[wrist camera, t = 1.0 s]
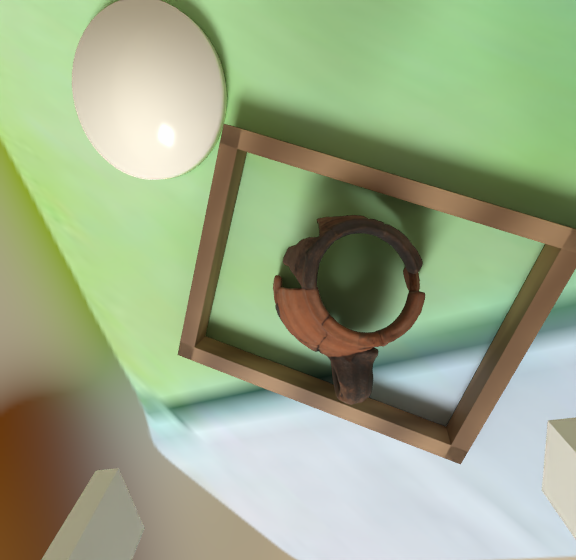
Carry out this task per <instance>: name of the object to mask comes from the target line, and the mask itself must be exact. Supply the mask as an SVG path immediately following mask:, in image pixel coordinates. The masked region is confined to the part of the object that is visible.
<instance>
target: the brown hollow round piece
mask: <svg viewBox="0 0 576 560" xmlns="http://www.w3.org/2000/svg"><path fill="white" fill-rule="evenodd" d="M317 223H318V224H319V233H320V234H319V236H318V237H308V238H306V239H303V240H301V241H300V242H299V243H298V244H296V245H294V246H291V247H289V248H288V249H287V252H286V254H285V256H284V258H283V264H284V265H287V266H289V268H290V270H291V272H292V273H293V274H294V275H295V276H296V278H297V280H298V282H299V283H300V285H301V287H302V288H293V289H290V288H285V287H282V278H281V276H279V275H276V276H275V278H274V284H273V290H274V300H275V303H276V310H277V313H278V315H279V317H280V319H281V321H282V322H283V324H284V325H285V326H286V328H287V329H288V331H289V332H290V333H291V334H292V335H294V336H295V337H296V338H297V339H298V340H299V341H300V342H301V343H302V344H304V345H305V346H307V347H308V348H310V349H311V350H313V351H315V352H317V351H319V352H320V353H322V354H324V355H326V356H328V358H329V359H330V361H331V367H332V376H333V383H334V388H335V393H336V396H337V398H338V399H339V400H341V401H342V402H344V403H347V404H349V405H353V404H356V403H361V402H363V401H364V400H365V399H366V398H368V397H369V396H370V394H371V392H372V385H373V371H372V368H373V363H374V360H375V358H376V357H377V356H378V349H376V348H374V347H378V346H385V345H387V344H388V343H389V342H392V341H394V340H396V339H397V338H399V337H400V336H402V335H403V334H405V333H406V332H407V331H408V330H409V329H410V328H411V327H412V325H413V324H414V323H415V321H416V320H417V318H418V316H419V315H420V313H421V311H422V307H423V304H424V300H425V293H424V292H420V291H419V289H420V283H419V281H420V280H419V274H418V272H419V270H420V269H421V267H422V264H423V262H422V259H421V257H420V255H419V253H418V251H417V250H416V248H415V247H414V246H413V245H412V243H411V242H410V241H409V239H408V238H407V237H406V236H405V235H404V234H403V233H401V232H400V231H399V230H397V229H396V228H394V227H392V226H390V225H388V224H384V223H383V222H381V221H378V220H375V219H368V218H366V217H364V216H358V215H350V216H348V215H347V216H335V217H324V218H319V219H317ZM355 233H365V234H370V235H374V236H377V237H378V238H380V239H382V240H383V241H385V242H387V243H388V244H389V245H391V246H392V247H393V248H394V249H395V250H396V251H397V253H398V254H399V256H400V257H401V259H402V261H403V262H404V264H405V268H404V270H403V274H404V278H405V282H406V285H407V288H408V290H409V293H408V297H407V300H406V303H405V306H404V308H403V310H402V312H401V313H400V315H399V316H398V317H397V319H396V320H395V321H394V322H393V323H391V324H390V325H389V326H387V327H386V328H383V329H381V330H378V331H375V332H370V333H365V332H357V331H353V330H350V329H348V328H346V327H344V326H342V325H341V324H339V323H338V322H337V321H336V320H335V319H334V318H333V317H332V316H331V315H330V314H329V312H328V311H327V310H326V308H325V306H324V305H323V303H322V300H321V297H320V294H319V290H318V287H317V274H318V268H319V264H320V262H321V259H322V257H323V255H324V254H325V252H326V251H327V249H328V248H329V247H330V246H331V245H332V244H333V243H334V241H336V240H338V239H340V238H341V237H344V236H346V235H349V234H355Z"/></svg>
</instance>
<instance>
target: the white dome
mask: <svg viewBox="0 0 576 560" xmlns="http://www.w3.org/2000/svg"><path fill="white" fill-rule="evenodd" d="M72 90H73V98H74V104H75V108H76V111H77V115H78V118H79V121H80V123H81V125H82V128H83V130H84V132H85V134H86V135H87V137H88V139H89V140H90V142H91V143H92V145H93V146H94V148H95V149H96V150H97V151H98V152H99V154H100V155H101V156H102V157H103V158H104V159H105V160H106V161H108V162H109V163H110V164H111V165H113V166H114V167H115V168H117V169H119V170H120V171H122V172H124V173H126V174H129V175H131V176H133V177H137V178H141V179H149V180H157V179H169V178H174V177H178V176H181V175H183V174H186V173H188V172H189V171H191V170H193V169H194V168H196V167H197V166H198V165H200V164H201V163H202V162H203V161H204V160H205V159H206V158H207V157H208V155H209V154H210V152H211V151H212V150H213V148H214V146H215V145H216V143H217V141H218V139H219V136H220V134H221V131H222V129H223V125H224V121H225V116H226V108H227V90H226V81H225V76H224V71H223V68H222V65H221V62H220V59H219V57H218V55H217V52H216V50H215V48H214V46H213V45H212V43H211V41H210V40H209V38H208V37H207V36H206V34H205V33H204V32H203V30H202V29H201V28H200V27H199V26H198V25H197V24H196V23H195V22H194V21H193V20H191V19H190V18H189V17H188V16H186V15H185V14H184V13H182V12H181V11H179V10H178V9H177V8H175V7H173V6H172V5H170V4H168V3H166V2H163V1H160V0H120V1H117V2H114V3H113V4H111V5H109V6H107V7H106V8H104V9H103V10H102V11H101V12H99V13H98V14H97V15H96V16H95V17H94V18H93V20H92V21H91V22H90V23H89V25H88V26H87V28H86V29H85V31H84V33H83V35H82V37H81V39H80V41H79V44H78V46H77V49H76V53H75V57H74V61H73V70H72Z"/></svg>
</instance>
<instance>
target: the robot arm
mask: <svg viewBox="0 0 576 560" xmlns="http://www.w3.org/2000/svg"><path fill="white" fill-rule="evenodd" d="M542 491H543V493H544V494H545V496H546V497H547V499H548V500H549V501H550V503H551V504H552V506H553V507H554V509H555V510H556V512H557V513H558V515H559V516H560V517H561V519H562V520H563V522H564V523H565V525H566V526H567V528H568V529H569V531H570V532H571V533H572V535H573V536H574V538H575V539H576V418H567V419H558V420H549V421H548V425H547V436H546V448H545V459H544V471H543V482H542ZM143 531H144V526H143V523H142V521H141V519H140V516H139V514H138V512H137V510H136V507H135V505H134V503H133V500H132V498H131V496H130V494H129V491H128V489H127V487H126V484H125V482H124V480H123V477H122V475H121V473H120V471H119V468H116V469H108V470H99V471H96V472H95V473H94V475H93V477H92V478H91V480H90V482H89V483H88V485H87V487H86V488H85V490H84V491H83V493H82V495H81V496H80V498H79V499H78V501H77V503H76V504H75V506H74V508H73V509H72V511H71V513H70V514H69V516H68V517H67V519H66V521H65V522H64V524H63V526H62V527H61V529H60V530H59V532H58V534H57V535H56V537H55V539H54V540H53V542H52V543H51V545H50V547H49V548H48V550H47V552H46V554H45V555H44V557H43V558H42V560H132V558H133V556H134V553H135V551H136V549H137V546H138V543H139V541H140V538H141V536H142V533H143Z"/></svg>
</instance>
